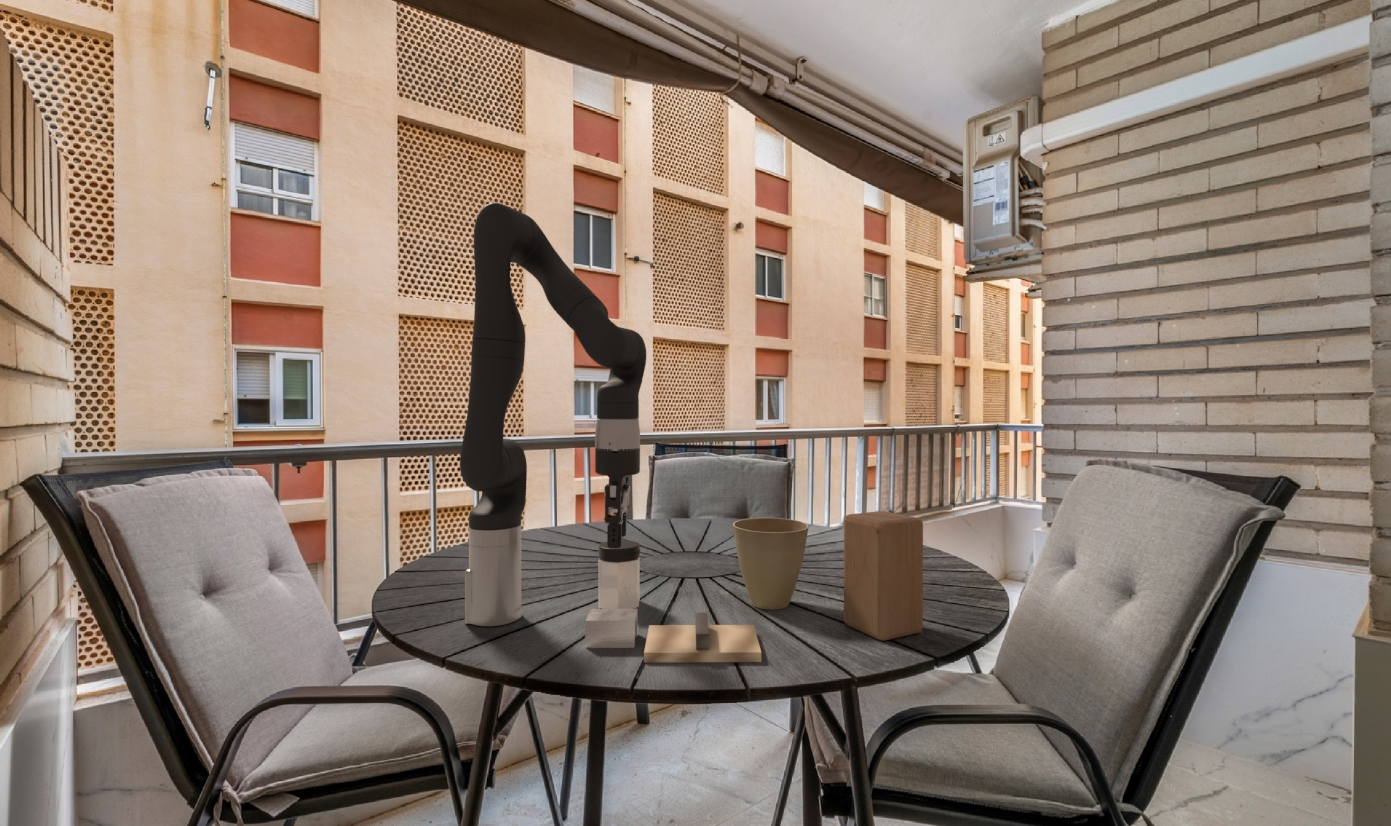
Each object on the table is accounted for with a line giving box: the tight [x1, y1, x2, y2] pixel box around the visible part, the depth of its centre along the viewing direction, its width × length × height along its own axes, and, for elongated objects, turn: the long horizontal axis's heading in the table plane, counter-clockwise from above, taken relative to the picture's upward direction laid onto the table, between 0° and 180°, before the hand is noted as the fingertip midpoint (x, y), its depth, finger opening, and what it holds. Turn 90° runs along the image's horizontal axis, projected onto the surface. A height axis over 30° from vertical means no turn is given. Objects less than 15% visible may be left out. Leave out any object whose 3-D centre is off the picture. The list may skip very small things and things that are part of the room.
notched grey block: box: [584, 608, 639, 649], centre depth 103 cm, size 6×8×4 cm
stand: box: [643, 612, 762, 664], centre depth 100 cm, size 18×12×4 cm, turn 90°
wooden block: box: [843, 510, 924, 642], centre depth 108 cm, size 10×10×20 cm
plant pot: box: [732, 517, 809, 611], centre depth 122 cm, size 15×15×16 cm
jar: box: [597, 539, 641, 609], centre depth 122 cm, size 9×8×12 cm
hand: (617, 541), depth 104 cm, fingers open, 8 cm apart
